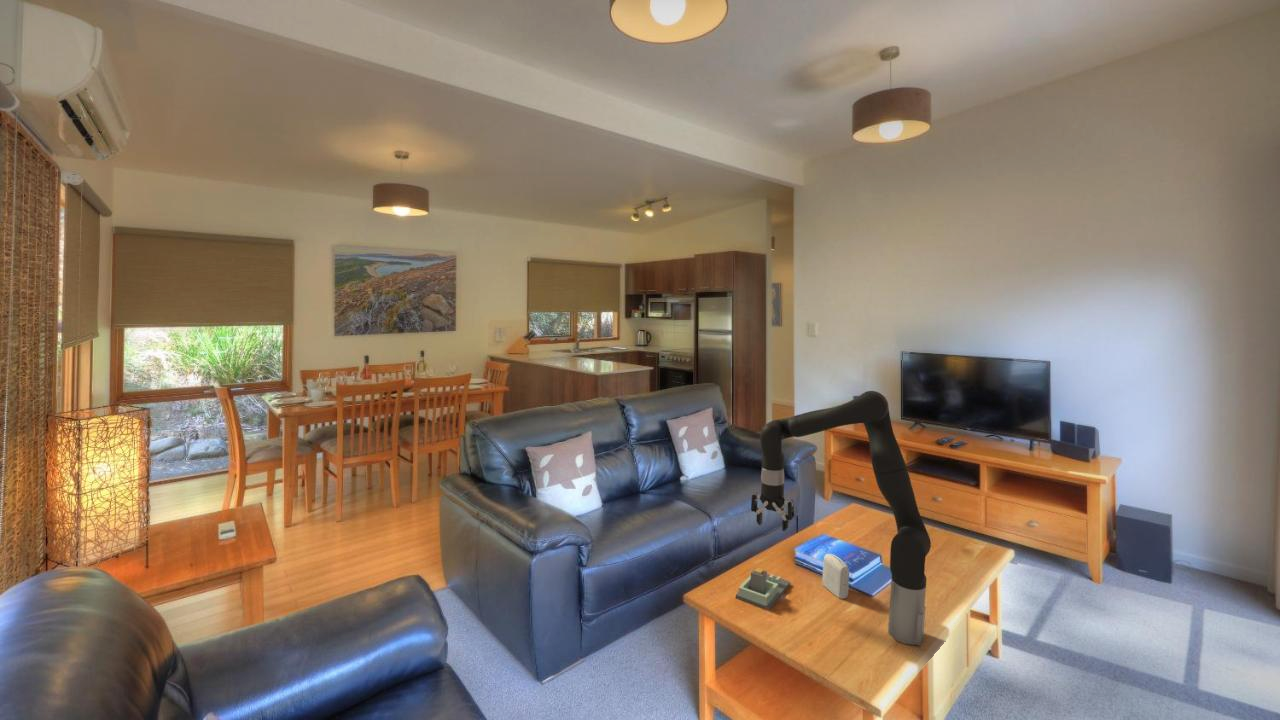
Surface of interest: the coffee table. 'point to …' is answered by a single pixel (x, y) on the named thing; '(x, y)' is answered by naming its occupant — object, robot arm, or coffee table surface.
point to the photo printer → (835, 576)
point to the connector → (758, 580)
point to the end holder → (757, 596)
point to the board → (781, 589)
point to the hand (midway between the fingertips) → (772, 527)
